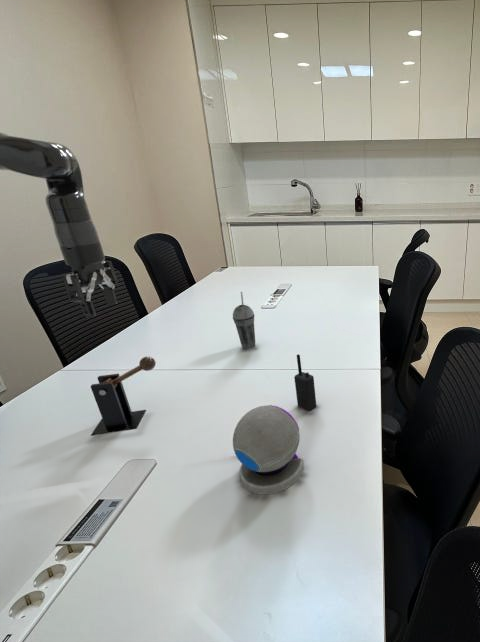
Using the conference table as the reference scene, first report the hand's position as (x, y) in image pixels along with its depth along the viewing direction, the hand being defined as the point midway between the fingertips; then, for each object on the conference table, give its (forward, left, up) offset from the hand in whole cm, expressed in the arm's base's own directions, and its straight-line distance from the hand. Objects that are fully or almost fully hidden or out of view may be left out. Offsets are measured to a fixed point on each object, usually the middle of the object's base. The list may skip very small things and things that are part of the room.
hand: (102, 310), depth 93 cm
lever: (+5, -8, -16) cm, 18 cm away
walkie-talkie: (+45, -12, -28) cm, 55 cm away
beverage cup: (+28, +31, -28) cm, 51 cm away
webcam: (+36, -34, -28) cm, 57 cm away
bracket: (-1, -8, -28) cm, 29 cm away
